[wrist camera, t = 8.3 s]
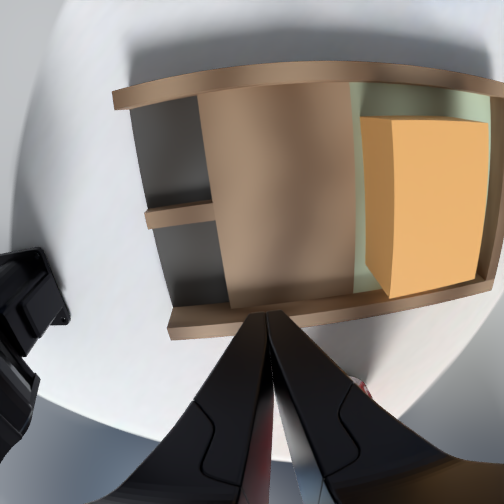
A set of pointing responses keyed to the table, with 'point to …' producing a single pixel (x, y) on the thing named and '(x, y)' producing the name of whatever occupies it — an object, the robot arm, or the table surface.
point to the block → (423, 200)
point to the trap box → (287, 186)
